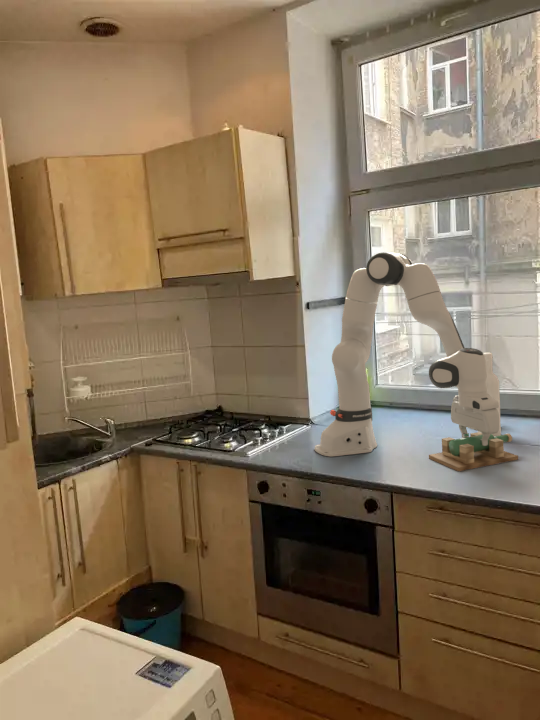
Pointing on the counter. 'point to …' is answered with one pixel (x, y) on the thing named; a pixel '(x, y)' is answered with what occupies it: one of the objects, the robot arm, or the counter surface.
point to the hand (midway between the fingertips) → (474, 441)
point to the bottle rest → (472, 455)
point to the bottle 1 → (492, 386)
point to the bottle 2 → (475, 443)
